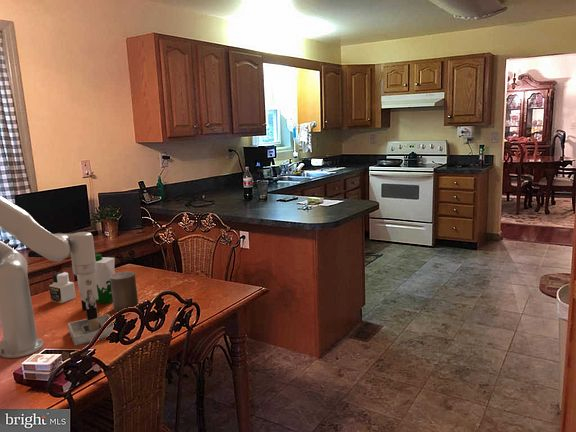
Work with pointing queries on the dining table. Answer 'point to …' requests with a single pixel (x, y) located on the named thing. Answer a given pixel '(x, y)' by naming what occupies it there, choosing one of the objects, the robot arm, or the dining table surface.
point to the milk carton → (104, 278)
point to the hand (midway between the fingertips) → (89, 314)
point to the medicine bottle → (61, 288)
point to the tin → (82, 333)
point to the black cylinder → (93, 321)
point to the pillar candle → (123, 290)
